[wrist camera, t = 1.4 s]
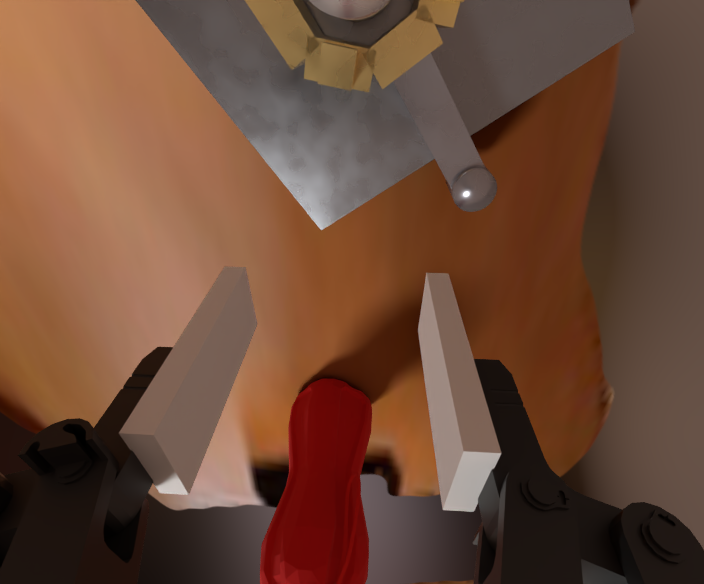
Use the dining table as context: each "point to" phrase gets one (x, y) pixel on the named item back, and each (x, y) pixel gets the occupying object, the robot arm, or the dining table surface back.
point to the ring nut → (390, 80)
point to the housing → (376, 82)
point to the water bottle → (322, 491)
